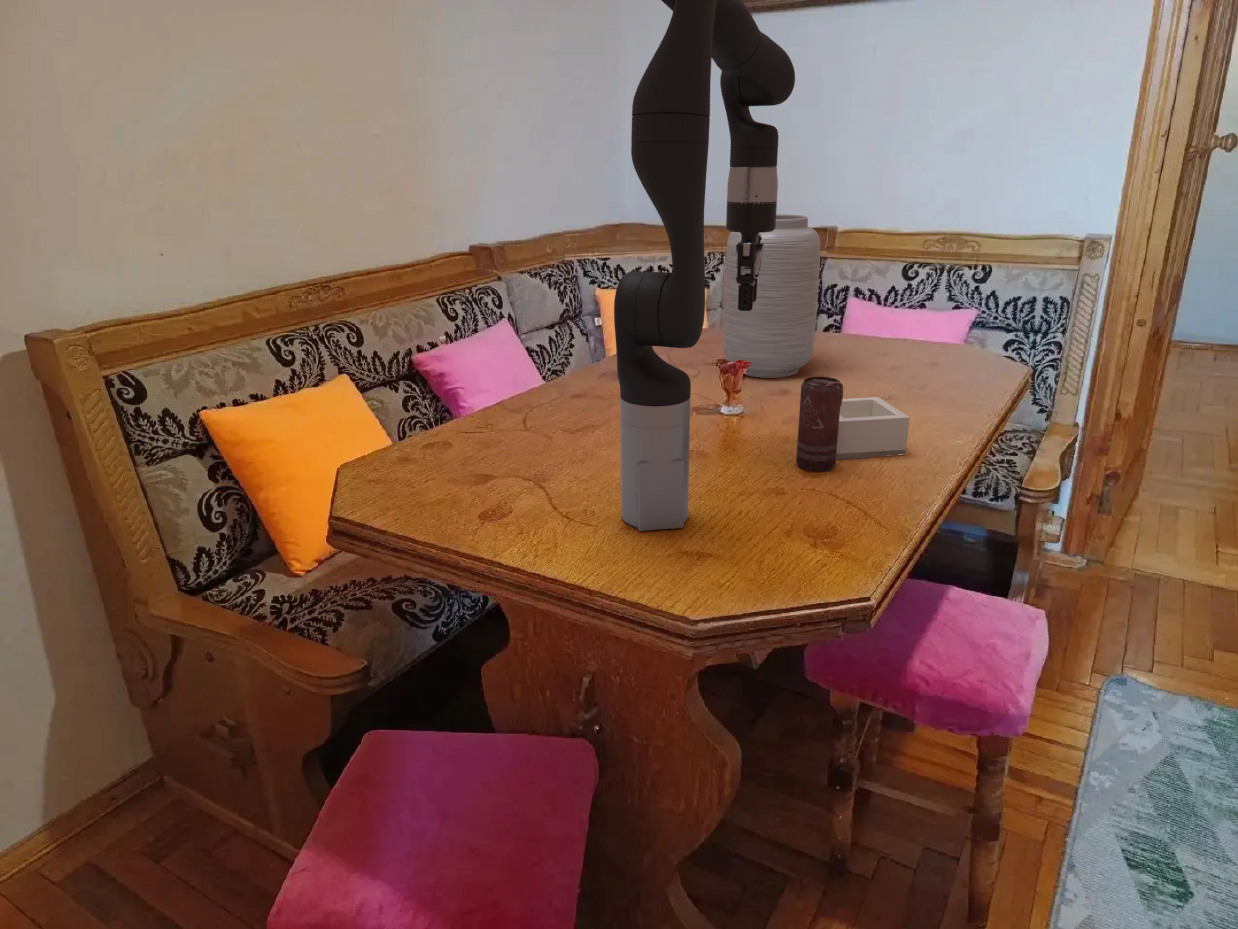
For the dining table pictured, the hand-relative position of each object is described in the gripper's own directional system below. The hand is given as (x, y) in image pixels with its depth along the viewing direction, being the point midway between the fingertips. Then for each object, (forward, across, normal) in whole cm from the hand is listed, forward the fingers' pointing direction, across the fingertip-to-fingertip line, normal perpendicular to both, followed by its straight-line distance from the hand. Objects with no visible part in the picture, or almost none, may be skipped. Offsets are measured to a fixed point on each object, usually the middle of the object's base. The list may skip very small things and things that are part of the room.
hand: (747, 305), depth 134 cm
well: (+24, +6, -19) cm, 31 cm away
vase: (+24, +54, -1) cm, 60 cm away
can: (+24, -5, -12) cm, 28 cm away
